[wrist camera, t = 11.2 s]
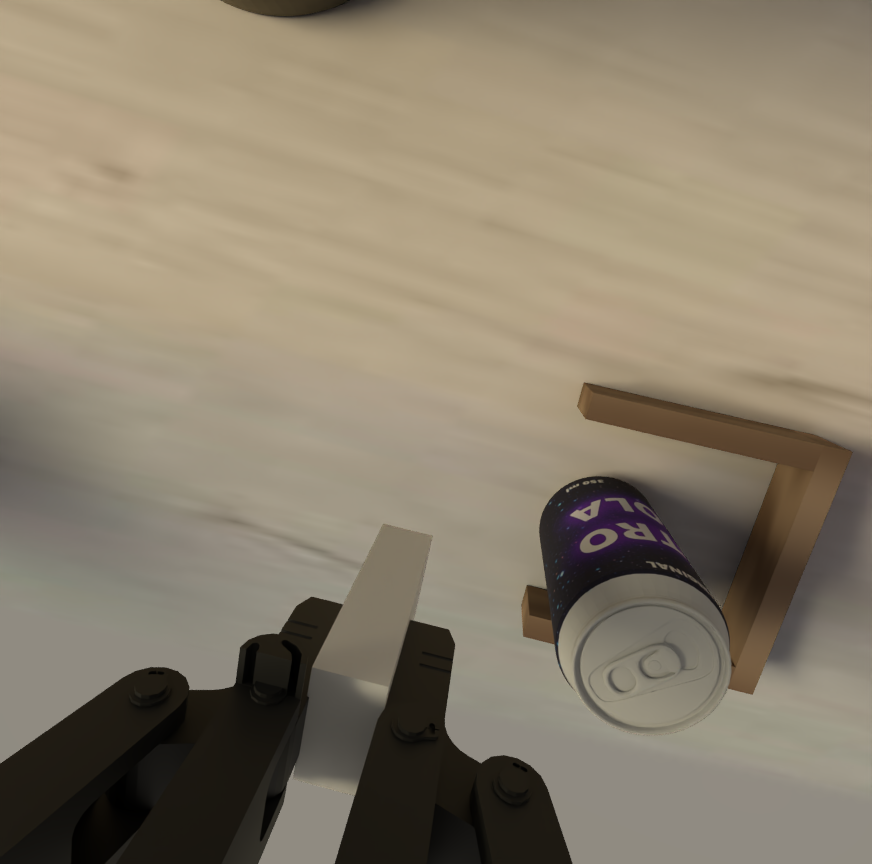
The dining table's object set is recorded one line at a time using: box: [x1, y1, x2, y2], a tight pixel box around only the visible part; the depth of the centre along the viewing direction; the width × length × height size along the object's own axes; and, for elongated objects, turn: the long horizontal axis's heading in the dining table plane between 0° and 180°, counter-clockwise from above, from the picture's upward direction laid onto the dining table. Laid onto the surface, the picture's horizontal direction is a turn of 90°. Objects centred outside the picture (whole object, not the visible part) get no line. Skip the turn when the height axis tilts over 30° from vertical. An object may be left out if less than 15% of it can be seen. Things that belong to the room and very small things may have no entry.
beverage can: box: [539, 476, 731, 735], centre depth 24 cm, size 6×6×12 cm
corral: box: [521, 383, 853, 695], centre depth 28 cm, size 12×11×3 cm
